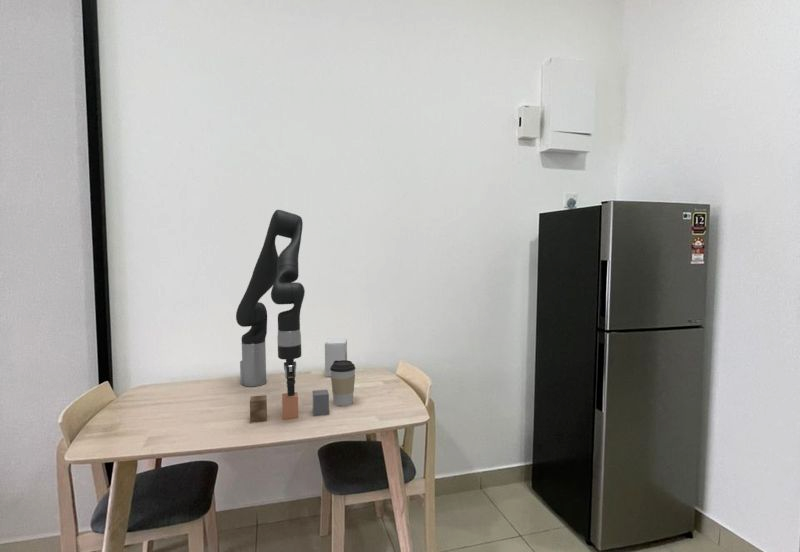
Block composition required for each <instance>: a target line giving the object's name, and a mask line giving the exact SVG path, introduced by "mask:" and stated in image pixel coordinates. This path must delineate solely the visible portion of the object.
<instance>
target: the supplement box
mask: <svg viewBox="0 0 800 552" xmlns="http://www.w3.org/2000/svg"><path fill="white" fill-rule="evenodd" d="M336 360H337V361H341V360H348V338H328V339H326V341H325V342H324V376H325V378H329V377H330V378H331V370H330V368H331V365H333V362H334V361H336Z"/></svg>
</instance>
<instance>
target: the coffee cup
mask: <svg viewBox="0 0 800 552" xmlns="http://www.w3.org/2000/svg"><path fill="white" fill-rule="evenodd" d="M330 370H331V377H330V382H331V390H332V398H333V399H332V400H333V405H335V406H338V407H345V406H350V405H352V404H353V403H354V402H353V401H354V390H355V380H356V374H355V371H356V365H355V364H354V363H353V362H352V361H351V360H348V359H347V360H341V361H337V360H336V361H334V362H333V365H331V368H330Z"/></svg>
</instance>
